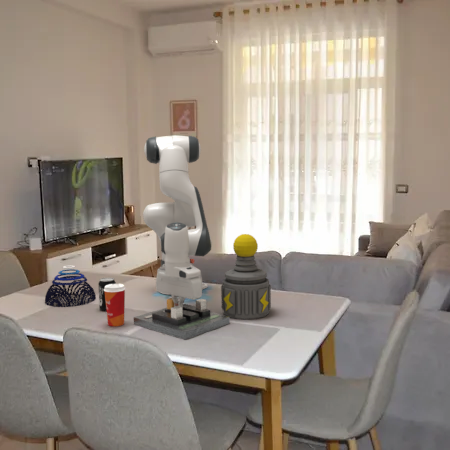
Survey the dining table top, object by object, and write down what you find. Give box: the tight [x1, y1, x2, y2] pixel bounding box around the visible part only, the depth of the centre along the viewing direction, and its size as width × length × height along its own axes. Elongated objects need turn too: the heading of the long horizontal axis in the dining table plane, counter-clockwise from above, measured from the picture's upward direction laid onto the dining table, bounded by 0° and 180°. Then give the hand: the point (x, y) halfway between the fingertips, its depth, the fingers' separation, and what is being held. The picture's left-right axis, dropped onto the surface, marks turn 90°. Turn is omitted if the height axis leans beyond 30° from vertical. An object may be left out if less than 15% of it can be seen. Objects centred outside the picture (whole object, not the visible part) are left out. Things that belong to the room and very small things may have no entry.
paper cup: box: [104, 283, 126, 328], centre depth 199 cm, size 8×8×14 cm
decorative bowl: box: [44, 265, 97, 308], centre depth 232 cm, size 20×20×14 cm
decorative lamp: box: [220, 233, 272, 320], centre depth 209 cm, size 19×19×30 cm
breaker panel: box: [133, 298, 231, 340], centre depth 198 cm, size 22×26×8 cm
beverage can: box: [98, 277, 117, 312], centre depth 218 cm, size 7×7×12 cm
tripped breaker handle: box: [166, 297, 174, 310], centre depth 201 cm, size 3×2×4 cm
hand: (178, 307), depth 199 cm, fingers closed
